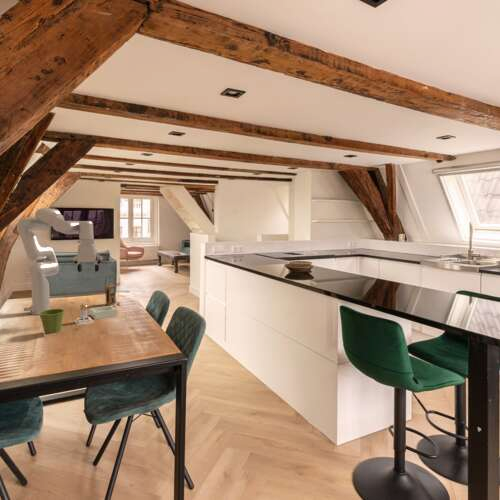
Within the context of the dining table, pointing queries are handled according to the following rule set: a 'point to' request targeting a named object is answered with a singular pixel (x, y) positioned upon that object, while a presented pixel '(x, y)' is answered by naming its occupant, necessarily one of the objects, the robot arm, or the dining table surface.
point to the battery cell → (84, 312)
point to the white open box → (103, 312)
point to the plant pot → (52, 320)
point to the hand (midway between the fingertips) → (88, 271)
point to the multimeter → (110, 294)
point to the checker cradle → (83, 321)
